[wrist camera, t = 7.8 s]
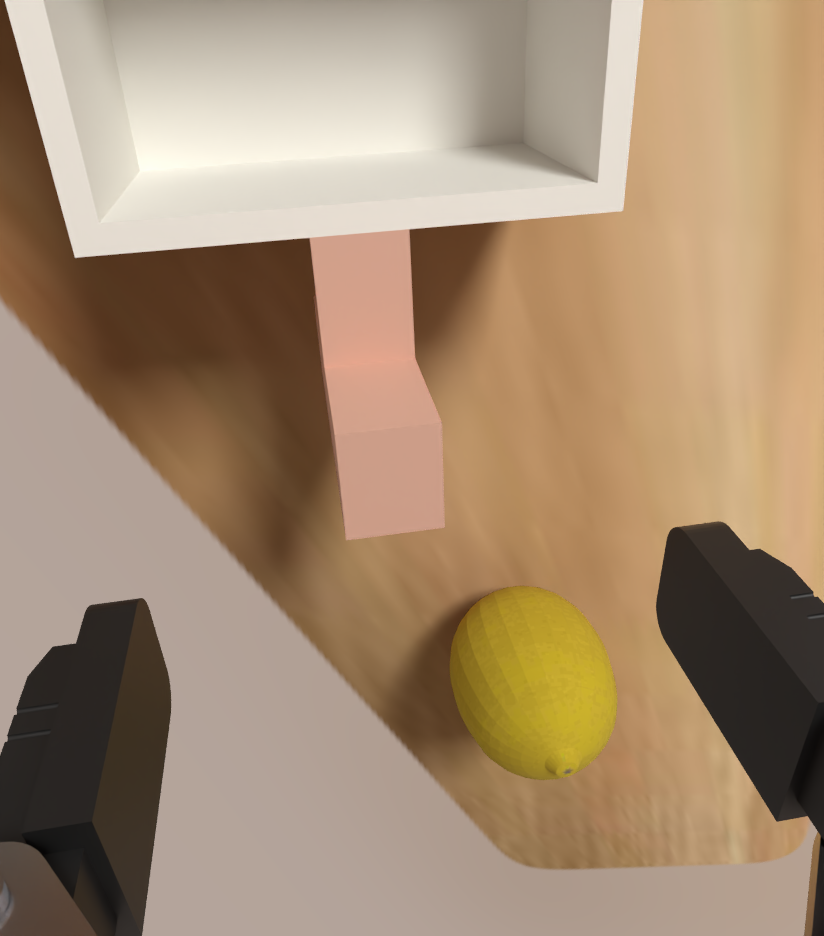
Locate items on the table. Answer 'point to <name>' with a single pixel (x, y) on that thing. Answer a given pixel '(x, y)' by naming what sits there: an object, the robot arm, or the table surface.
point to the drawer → (334, 163)
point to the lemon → (533, 683)
